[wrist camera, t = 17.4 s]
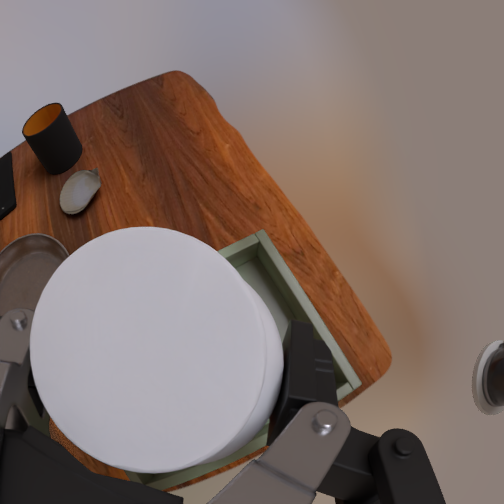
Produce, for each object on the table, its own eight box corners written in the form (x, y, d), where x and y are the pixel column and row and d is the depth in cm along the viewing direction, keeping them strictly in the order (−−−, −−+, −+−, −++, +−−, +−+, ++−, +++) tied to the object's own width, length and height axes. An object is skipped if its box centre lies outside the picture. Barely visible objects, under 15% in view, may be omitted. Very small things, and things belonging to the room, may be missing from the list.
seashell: (68, 194, 43) (64, 225, 39) (59, 183, 41) (53, 213, 36) (106, 171, 44) (106, 200, 39) (97, 158, 41) (95, 186, 37)
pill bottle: (215, 449, 13) (172, 563, 3) (125, 377, 14) (-29, 346, 4) (285, 359, 15) (377, 310, 5) (194, 293, 16) (134, 151, 6)
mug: (82, 125, 48) (65, 86, 39) (82, 163, 44) (60, 122, 35) (48, 140, 47) (29, 105, 37) (44, 181, 42) (18, 144, 33)
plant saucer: (4, 242, 37) (-7, 234, 34) (98, 241, 38) (88, 229, 35) (-17, 361, 29) (-30, 358, 26) (81, 389, 30) (68, 389, 27)
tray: (249, 310, 35) (263, 228, 17) (293, 383, 32) (362, 384, 13) (153, 360, 32) (60, 330, 14) (194, 435, 29) (140, 496, 10)
